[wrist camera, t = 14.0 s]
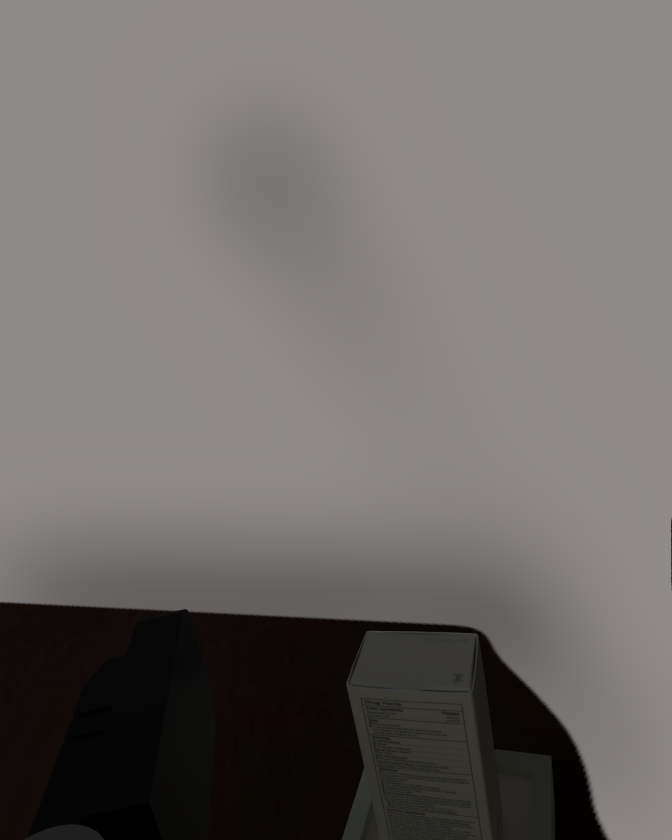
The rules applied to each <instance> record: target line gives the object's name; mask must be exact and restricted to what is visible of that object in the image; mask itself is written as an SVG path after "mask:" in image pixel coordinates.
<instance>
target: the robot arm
mask: <svg viewBox="0 0 672 840" xmlns="http://www.w3.org/2000/svg"><path fill="white" fill-rule="evenodd" d="M671 558H672V520H671ZM671 560H672V559H671ZM671 567H672V561H671ZM671 569H672V568H671ZM671 574H672V572H671ZM671 580H672V577H671ZM671 583H672V581H671ZM73 715H74V720H71V722H70V725H69V727H68V730H67V733H66V736H65V744H62V746H61V749H60V752H59V755H58V757H57V760H56V763H55V766H54V768H53V771H52V774H51V776H50V779H49V782H48V785H47V787H46V790H45V793H44V795H43V798H42V801H41V804H40V806H39V809H38V812H37V814H36V817H35V820H34V823H33V825H32V828H31V831H30V834H29V836H28V838H26V839H24V840H208V829H209V814H210V800H211V785H212V771H213V757H214V742H215V716H214V707H213V700H212V695H211V690H210V686H209V682H208V679H207V675H206V671H205V667H204V663H203V660H202V656H201V652H200V648H199V644H198V641H197V637H196V633H195V629H194V626H193V622H192V619H191V616H190V614H189V612H188V610H186V609H184V610H179V611H174V612H170V613H165V614H160V615H155V616H151V617H146V618H141V619H138V620H137V622H136V625H135V628H134V631H133V635H132V638H131V642H130V645H129V648H128V652H127V655H126V656H122V657H117V658H113V659H108V660H106V661H105V662H104V663H103V664H102V665H101V667H100V668H99V669H98V670H97V671H96V672H95V674H94V675H93V676H92V677H91V678H90V679H89V681H88V682H87V683H86V684H85V685H84V687H83V689H82V692H81V695H80V698H79V700H78V703H77V706H76V708H75V711H74V714H73Z"/></svg>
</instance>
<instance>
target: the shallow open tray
mask: <svg viewBox="0 0 672 840" xmlns="http://www.w3.org/2000/svg"><path fill="white" fill-rule="evenodd" d="M494 752H495V759H496V767H497V774H498V782H499V789H500V797H501V804H502V813H503V817H502V840H555V802H554V789H553V775H552V762H551V756H548V755H540V754H531V753H522V752H513V751H505V750H496V749H494ZM342 840H380V836H379V832H378V827H377V822H376V818H375V813H374V809H373V804H372V799H371V795H370V790H369V785H368V781H367V776H366V771H365V768H364V771H363V774H362V778H361V781H360V784H359V787H358V790H357V793H356V797H355V800H354V803H353V806H352V809H351V812H350V816H349V819H348V822H347V825H346V828H345V831H344V835H343V838H342Z"/></svg>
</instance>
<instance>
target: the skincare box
mask: <svg viewBox="0 0 672 840" xmlns="http://www.w3.org/2000/svg"><path fill="white" fill-rule="evenodd" d="M346 684H347V689H348V693H349V698H350V702H351V707H352V711H353V716H354V720H355V725H356V730H357V734H358V739H359V744H360V748H361V753H362V758H363V762H364V767H365V771H366V776H367V781H368V785H369V790H370V795H371V799H372V804H373V809H374V813H375V818H376V822H377V827H378V832H379V836H380V840H502V817H503V813H502V804H501V797H500V789H499V782H498V774H497V767H496V759H495V752H494V743H493V736H492V729H491V721H490V714H489V706H488V699H487V692H486V685H485V678H484V671H483V664H482V657H481V651H480V644H479V638H478V635H477V634H467V633H443V632H441V633H439V632H402V631H368V632H366V634H365V636H364V639H363V641H362V644H361V646H360V649H359V651H358V654H357V656H356V659H355V661H354V664H353V666H352V669H351V672H350V675H349V677H348V680H347V683H346Z"/></svg>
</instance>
